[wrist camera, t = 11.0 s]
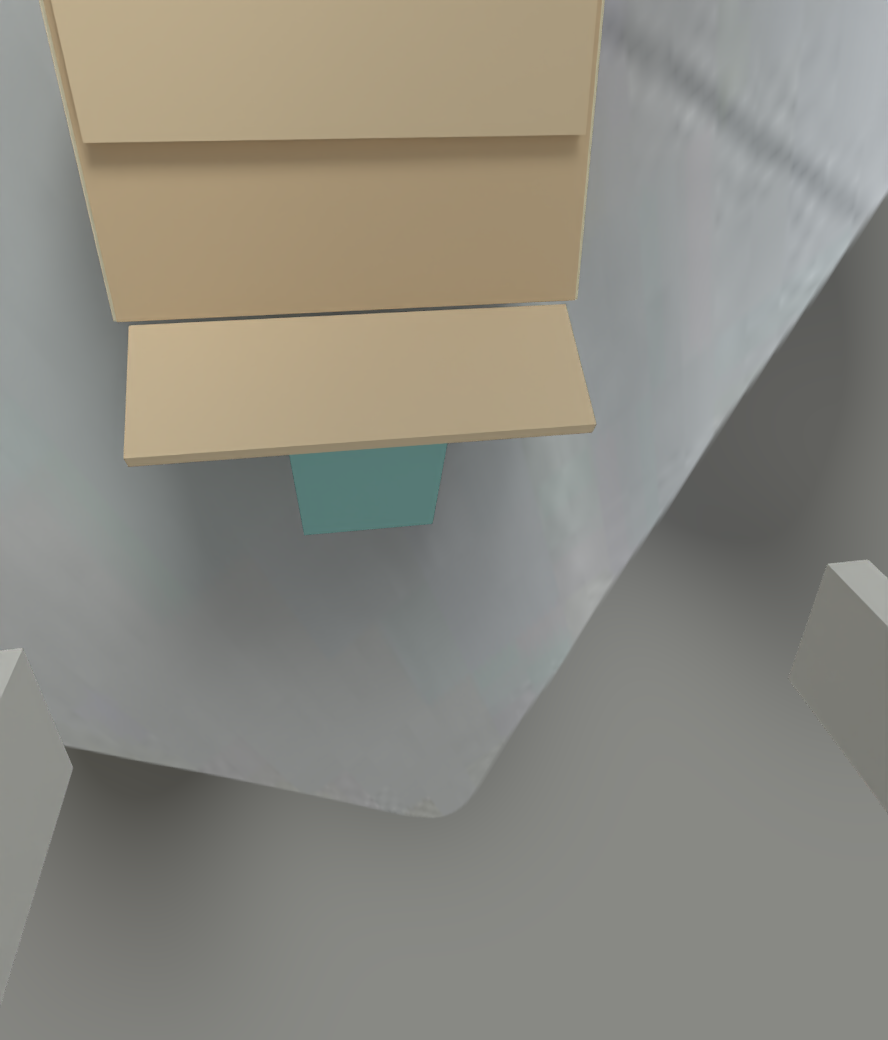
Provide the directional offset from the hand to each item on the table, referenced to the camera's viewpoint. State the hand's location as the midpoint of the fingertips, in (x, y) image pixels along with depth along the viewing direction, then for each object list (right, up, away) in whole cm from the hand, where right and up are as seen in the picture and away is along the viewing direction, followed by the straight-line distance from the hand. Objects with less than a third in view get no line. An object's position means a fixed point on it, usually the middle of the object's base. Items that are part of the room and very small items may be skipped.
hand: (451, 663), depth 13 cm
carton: (-5, +20, +21) cm, 30 cm away
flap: (-3, +8, +16) cm, 18 cm away
